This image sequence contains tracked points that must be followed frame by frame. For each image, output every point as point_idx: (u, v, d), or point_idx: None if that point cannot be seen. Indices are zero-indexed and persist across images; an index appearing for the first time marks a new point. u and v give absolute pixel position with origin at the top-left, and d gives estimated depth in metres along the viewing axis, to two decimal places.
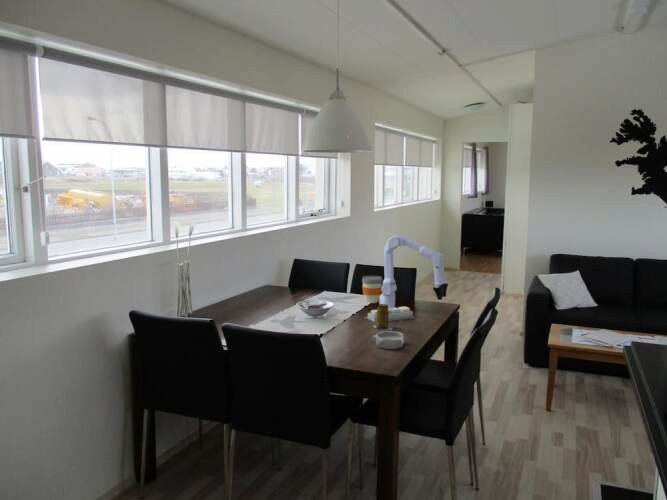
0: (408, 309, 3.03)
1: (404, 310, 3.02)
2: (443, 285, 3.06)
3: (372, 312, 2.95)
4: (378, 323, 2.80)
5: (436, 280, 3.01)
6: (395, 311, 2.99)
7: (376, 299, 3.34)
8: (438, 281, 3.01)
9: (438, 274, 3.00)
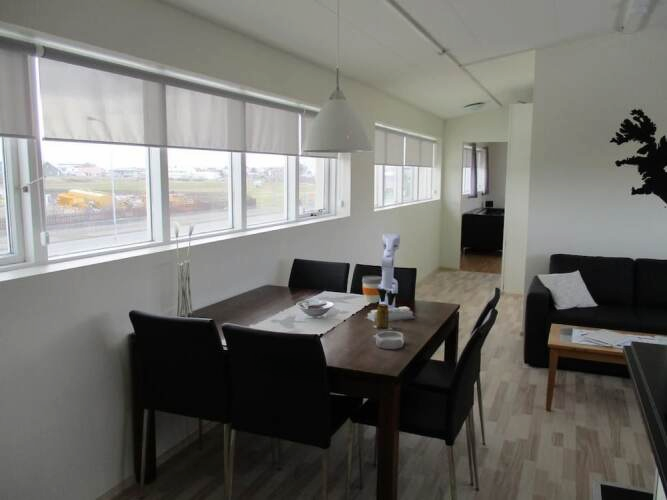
0: (408, 309, 3.03)
1: (404, 310, 3.02)
2: None
3: (372, 312, 2.95)
4: (378, 323, 2.80)
5: None
6: (395, 311, 2.99)
7: (376, 299, 3.34)
8: None
9: (382, 278, 2.96)
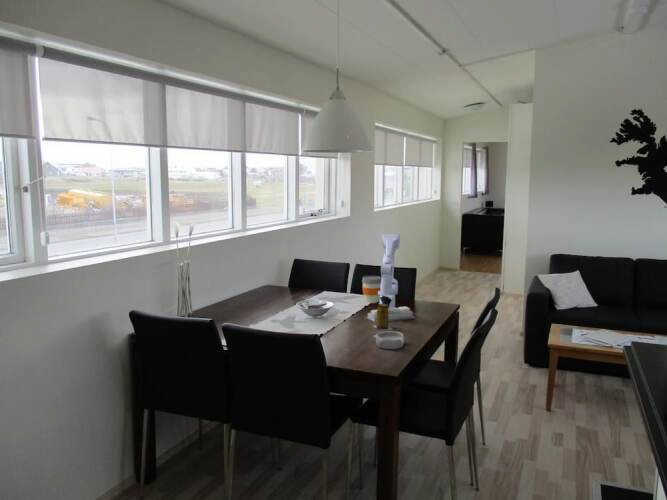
0: (408, 309, 3.03)
1: (404, 310, 3.02)
2: None
3: (372, 312, 2.95)
4: (378, 323, 2.80)
5: None
6: (395, 311, 2.99)
7: (376, 299, 3.34)
8: None
9: (381, 285, 2.97)
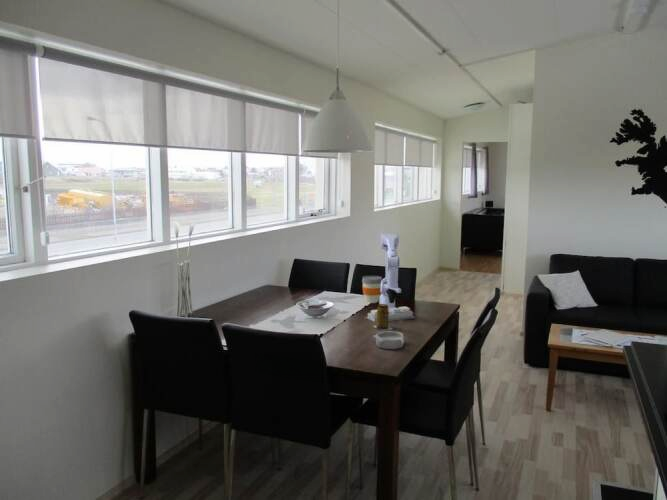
0: (408, 309, 3.03)
1: (404, 310, 3.02)
2: None
3: (372, 312, 2.95)
4: (378, 323, 2.80)
5: None
6: (395, 311, 2.99)
7: (376, 299, 3.34)
8: None
9: (387, 278, 2.97)
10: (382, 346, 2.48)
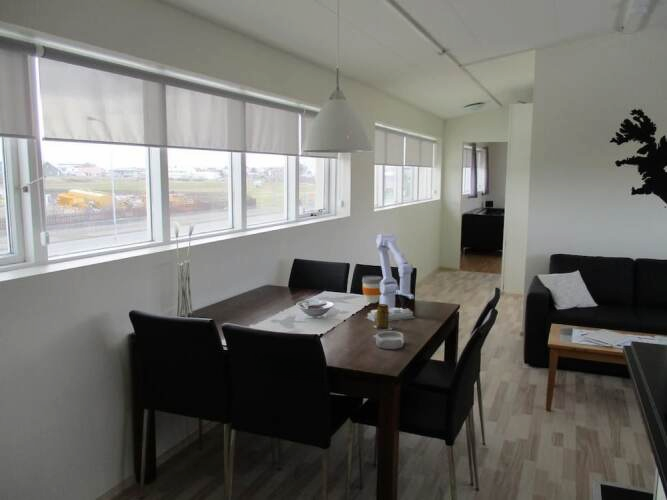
0: (408, 310, 3.03)
1: (404, 311, 3.02)
2: None
3: (372, 312, 2.95)
4: (378, 323, 2.80)
5: None
6: (395, 311, 2.99)
7: (376, 299, 3.34)
8: None
9: (401, 285, 3.00)
10: (382, 346, 2.48)
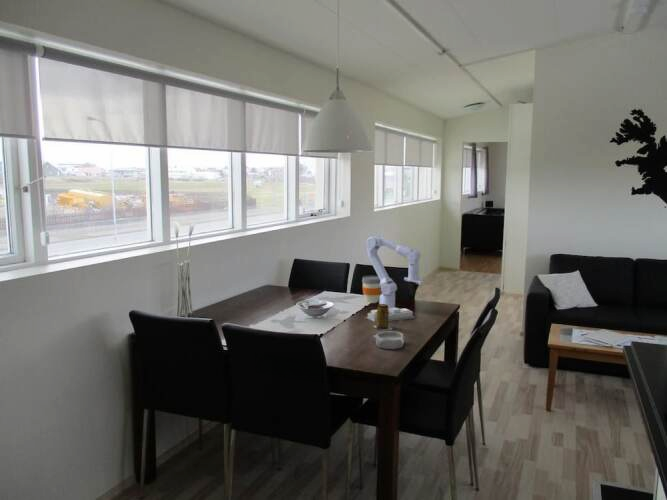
0: (408, 311, 3.03)
1: None
2: None
3: (372, 312, 2.95)
4: (378, 323, 2.80)
5: None
6: (395, 311, 2.99)
7: (376, 299, 3.34)
8: None
9: (412, 272, 3.06)
10: (382, 346, 2.48)
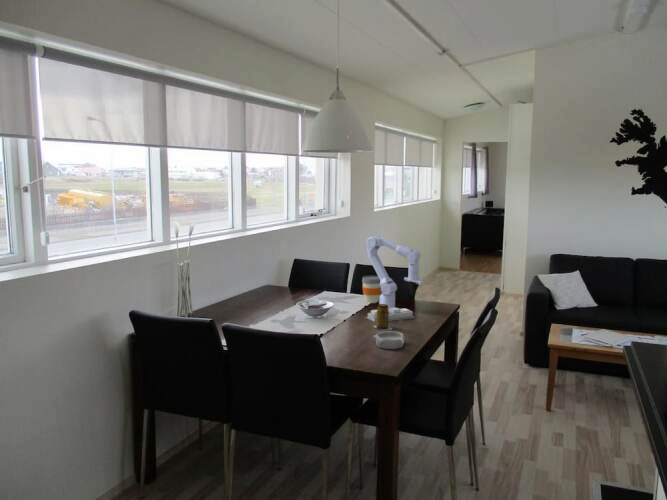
0: (408, 311, 3.03)
1: None
2: None
3: (372, 312, 2.95)
4: (378, 323, 2.80)
5: None
6: (395, 311, 2.99)
7: (376, 299, 3.34)
8: None
9: (412, 272, 3.06)
10: (382, 346, 2.48)
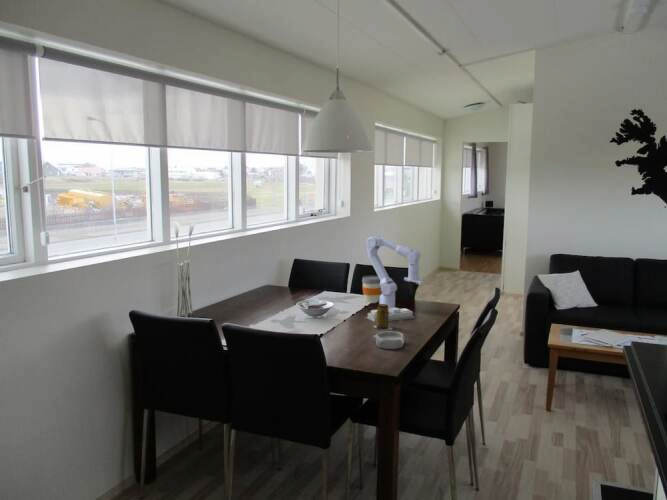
0: (408, 311, 3.03)
1: None
2: None
3: (372, 312, 2.95)
4: (378, 323, 2.80)
5: None
6: (395, 311, 2.99)
7: (376, 299, 3.34)
8: None
9: (412, 272, 3.06)
10: (382, 346, 2.48)
